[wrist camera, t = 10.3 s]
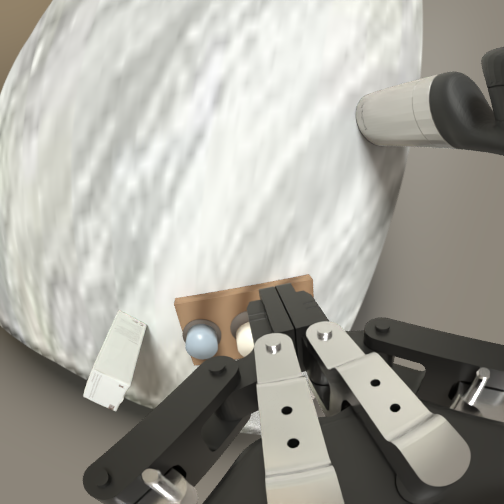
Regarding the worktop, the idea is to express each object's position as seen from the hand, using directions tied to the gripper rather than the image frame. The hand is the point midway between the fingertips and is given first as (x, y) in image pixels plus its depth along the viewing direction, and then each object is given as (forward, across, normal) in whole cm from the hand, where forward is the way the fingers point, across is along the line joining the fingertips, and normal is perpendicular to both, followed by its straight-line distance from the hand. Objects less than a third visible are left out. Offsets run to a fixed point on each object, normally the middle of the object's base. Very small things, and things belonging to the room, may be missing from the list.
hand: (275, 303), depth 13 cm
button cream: (+24, +1, +20) cm, 31 cm away
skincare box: (+28, +23, +18) cm, 41 cm away
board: (+28, +1, +20) cm, 34 cm away
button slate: (+26, +9, +19) cm, 34 cm away
